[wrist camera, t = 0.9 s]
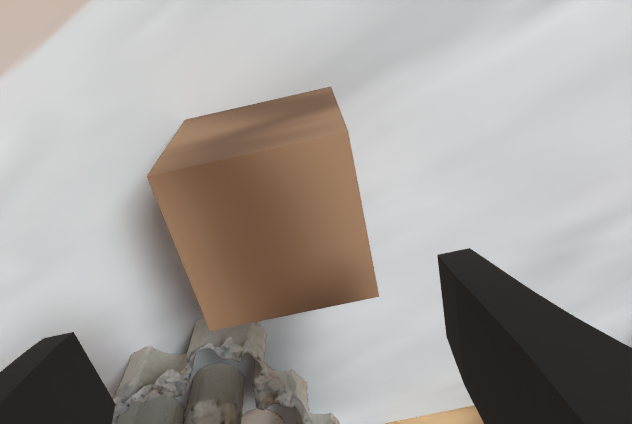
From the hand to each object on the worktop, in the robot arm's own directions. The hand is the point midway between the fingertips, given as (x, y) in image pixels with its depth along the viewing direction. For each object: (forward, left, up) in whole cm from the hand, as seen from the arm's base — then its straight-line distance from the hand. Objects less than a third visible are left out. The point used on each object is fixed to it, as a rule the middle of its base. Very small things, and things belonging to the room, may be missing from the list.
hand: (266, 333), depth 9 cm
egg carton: (+5, +11, -9) cm, 15 cm away
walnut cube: (0, 0, -9) cm, 9 cm away
